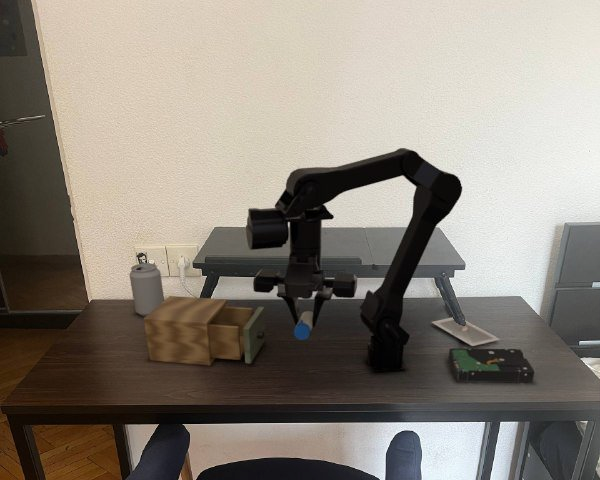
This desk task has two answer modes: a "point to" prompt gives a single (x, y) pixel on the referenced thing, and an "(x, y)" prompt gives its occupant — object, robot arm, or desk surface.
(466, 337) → the touchpad
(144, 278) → the can
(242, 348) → the drawer
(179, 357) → the cabinet
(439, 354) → the desk surface
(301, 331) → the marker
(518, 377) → the disk drive
